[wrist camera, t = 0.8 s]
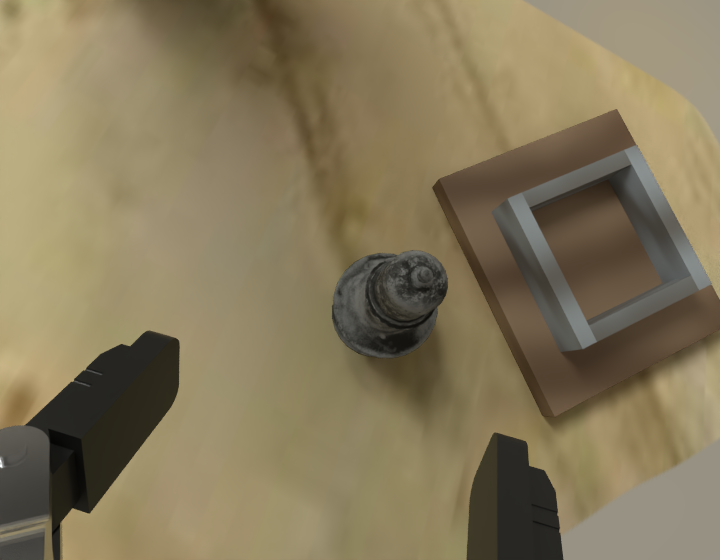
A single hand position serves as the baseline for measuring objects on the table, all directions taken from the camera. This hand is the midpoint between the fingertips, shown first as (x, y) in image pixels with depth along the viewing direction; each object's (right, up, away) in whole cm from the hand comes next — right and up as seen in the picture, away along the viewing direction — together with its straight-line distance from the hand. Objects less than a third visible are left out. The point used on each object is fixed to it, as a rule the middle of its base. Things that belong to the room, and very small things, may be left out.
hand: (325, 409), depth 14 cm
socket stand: (+15, +5, +23) cm, 28 cm away
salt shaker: (+2, +1, +20) cm, 21 cm away
